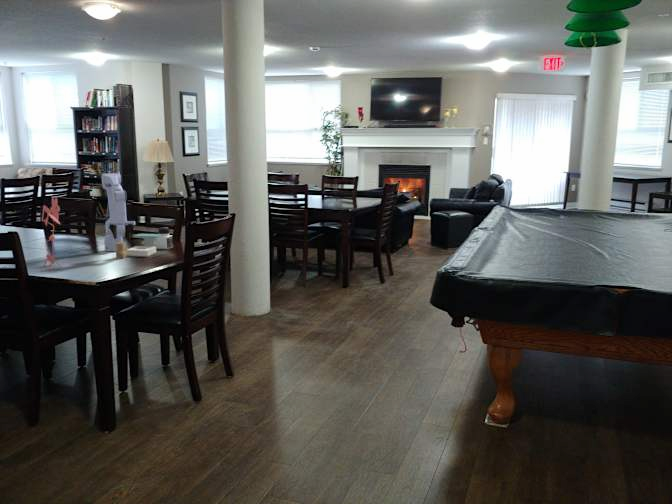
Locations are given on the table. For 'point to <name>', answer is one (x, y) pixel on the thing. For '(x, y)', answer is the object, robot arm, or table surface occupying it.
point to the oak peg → (121, 250)
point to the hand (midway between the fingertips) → (122, 238)
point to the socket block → (141, 251)
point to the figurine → (55, 217)
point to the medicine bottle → (164, 239)
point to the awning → (148, 239)
